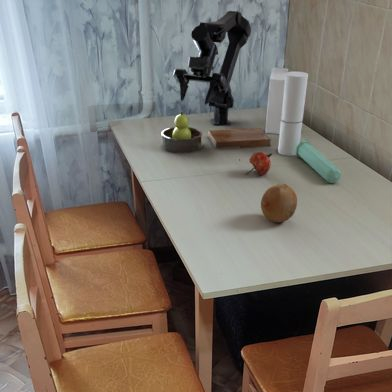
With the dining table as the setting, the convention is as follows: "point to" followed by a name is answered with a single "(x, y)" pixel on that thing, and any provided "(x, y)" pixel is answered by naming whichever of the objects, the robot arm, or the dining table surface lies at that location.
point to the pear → (181, 127)
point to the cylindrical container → (292, 112)
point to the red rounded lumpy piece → (260, 162)
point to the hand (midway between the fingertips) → (193, 102)
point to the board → (239, 138)
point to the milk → (275, 100)
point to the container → (318, 162)
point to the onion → (279, 203)
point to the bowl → (181, 141)
